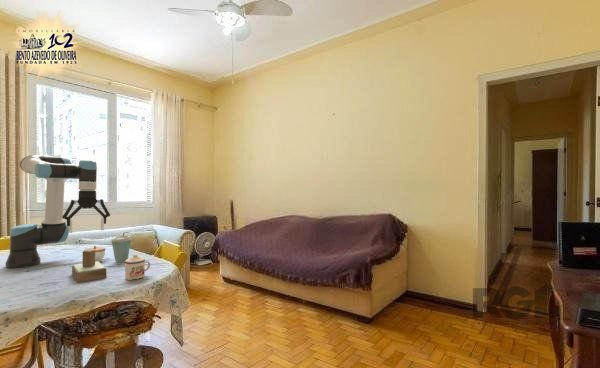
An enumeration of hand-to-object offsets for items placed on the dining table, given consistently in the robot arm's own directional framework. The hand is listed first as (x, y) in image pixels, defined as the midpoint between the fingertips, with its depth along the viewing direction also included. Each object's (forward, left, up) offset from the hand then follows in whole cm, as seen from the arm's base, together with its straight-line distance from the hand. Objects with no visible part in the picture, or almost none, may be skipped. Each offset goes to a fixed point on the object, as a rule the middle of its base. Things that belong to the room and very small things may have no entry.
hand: (87, 231), depth 157 cm
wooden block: (+1, +1, -18) cm, 18 cm away
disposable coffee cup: (-22, +21, -23) cm, 38 cm away
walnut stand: (+1, +1, -23) cm, 23 cm away
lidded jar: (-32, +9, -23) cm, 40 cm away
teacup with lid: (+20, +19, -23) cm, 36 cm away
